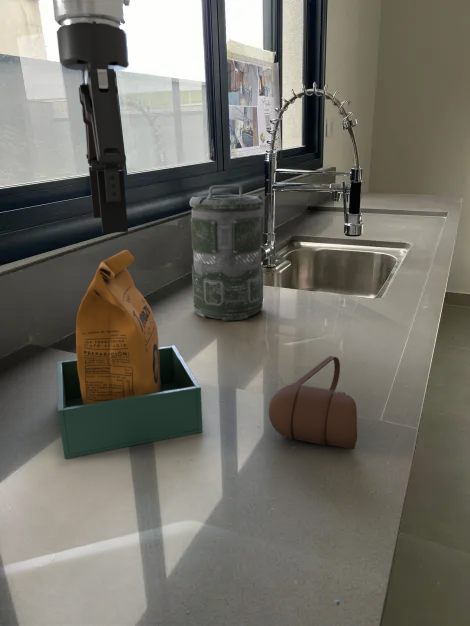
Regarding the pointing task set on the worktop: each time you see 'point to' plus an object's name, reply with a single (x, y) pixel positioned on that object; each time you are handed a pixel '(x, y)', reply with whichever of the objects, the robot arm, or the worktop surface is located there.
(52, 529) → the worktop surface
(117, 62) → the robot arm
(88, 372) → the coffee package
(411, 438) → the worktop surface
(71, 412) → the green open box
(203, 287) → the canister
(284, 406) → the brown strapped handbag
